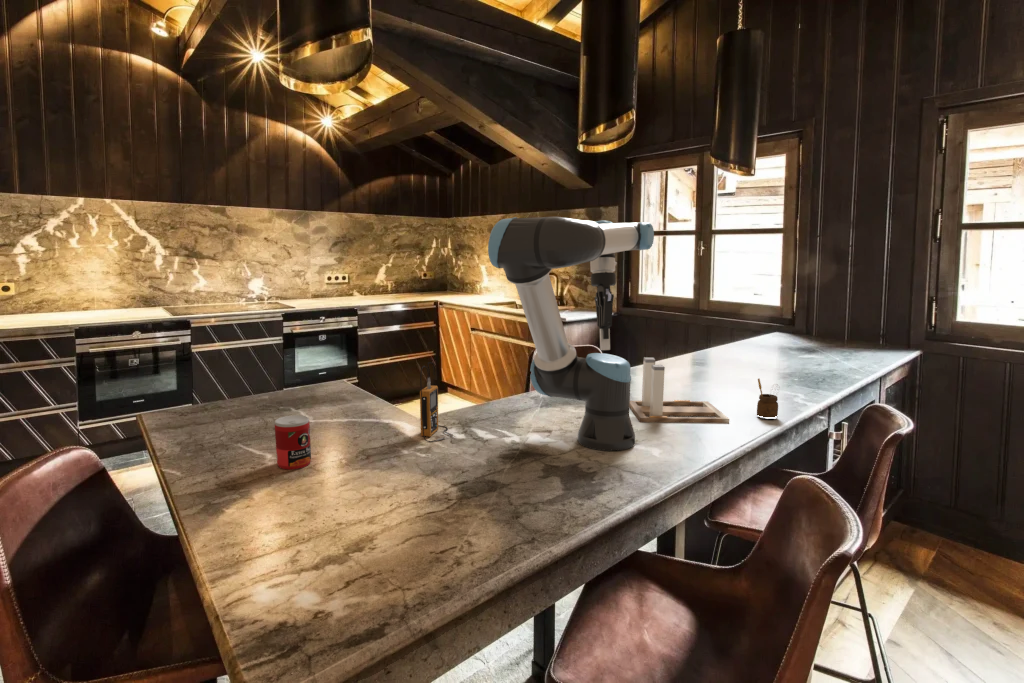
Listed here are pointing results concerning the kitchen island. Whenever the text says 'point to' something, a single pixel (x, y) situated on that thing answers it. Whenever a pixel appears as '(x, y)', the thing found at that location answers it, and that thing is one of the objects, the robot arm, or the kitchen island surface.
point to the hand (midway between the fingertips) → (605, 349)
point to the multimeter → (429, 409)
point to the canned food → (293, 442)
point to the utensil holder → (767, 404)
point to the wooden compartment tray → (680, 412)
